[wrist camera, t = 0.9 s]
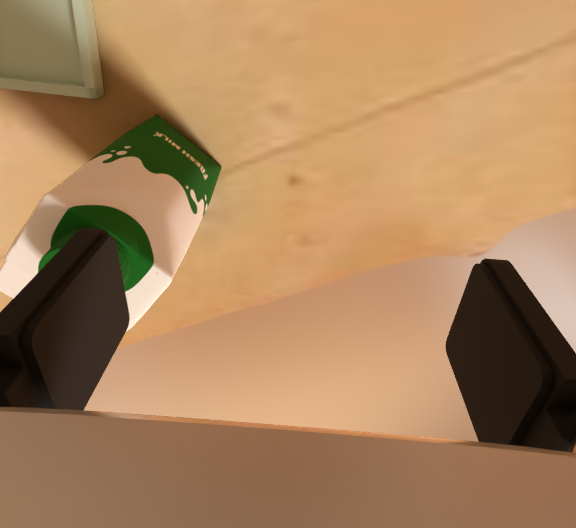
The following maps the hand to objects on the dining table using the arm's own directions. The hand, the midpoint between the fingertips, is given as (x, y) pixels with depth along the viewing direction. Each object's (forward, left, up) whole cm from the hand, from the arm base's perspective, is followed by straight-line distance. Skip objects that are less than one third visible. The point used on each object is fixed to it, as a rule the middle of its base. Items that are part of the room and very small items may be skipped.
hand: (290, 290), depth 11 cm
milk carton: (+8, -12, -28) cm, 31 cm away
